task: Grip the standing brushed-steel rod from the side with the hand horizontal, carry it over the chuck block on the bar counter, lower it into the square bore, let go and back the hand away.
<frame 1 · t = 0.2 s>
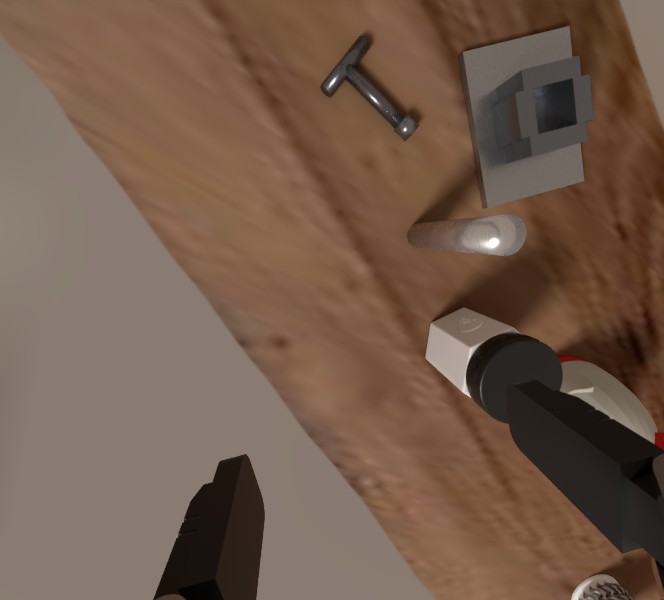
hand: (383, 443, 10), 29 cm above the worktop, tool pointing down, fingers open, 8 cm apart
steel rod: (419, 235, 39), on the worktop
jar: (456, 341, 42), on the worktop
decorative candle: (593, 594, 53), on the worktop
kitchen timer: (555, 404, 46), on the worktop
chuck key: (372, 99, 35), on the worktop
chuck block: (520, 123, 38), on the worktop
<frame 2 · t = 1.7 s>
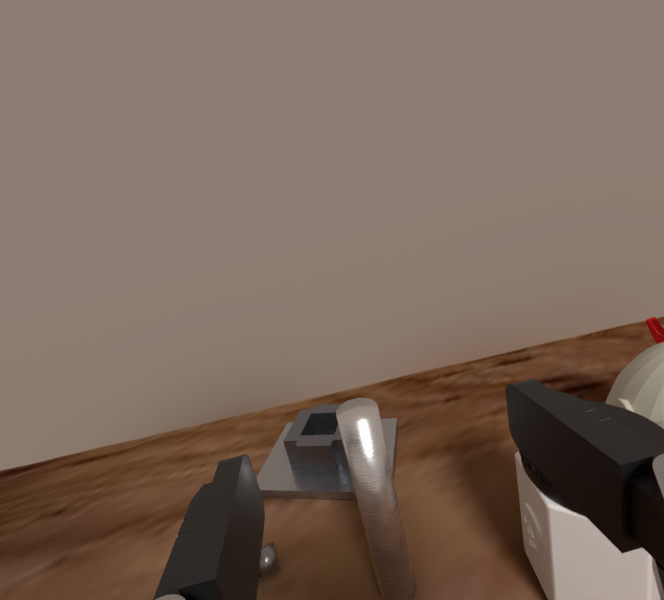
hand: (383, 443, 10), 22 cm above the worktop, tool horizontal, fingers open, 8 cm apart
steel rod: (397, 588, 26), on the worktop
jar: (596, 580, 24), on the worktop
chuck key: (218, 596, 28), on the worktop
chuck block: (330, 457, 42), on the worktop
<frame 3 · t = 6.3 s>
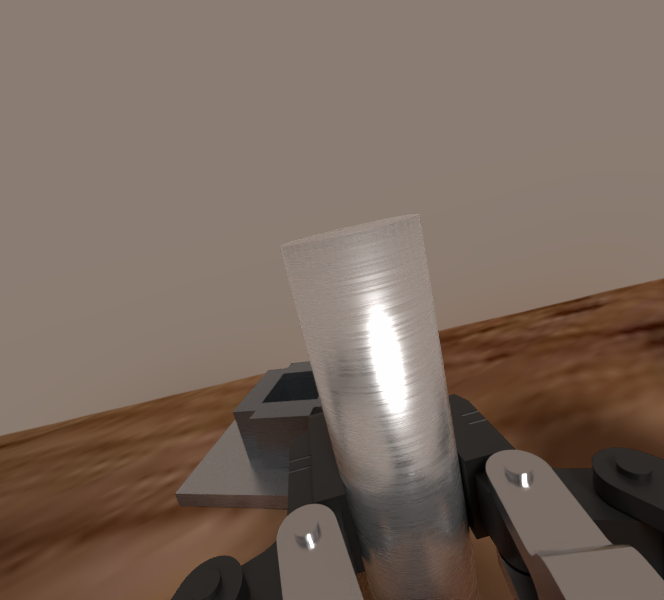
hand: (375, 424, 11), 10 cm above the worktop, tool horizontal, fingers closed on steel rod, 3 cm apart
chuck block: (314, 441, 26), on the worktop
when the fingers open (12 cm above the worktop, at t = 11.0 s): steel rod drops 1 cm, resting on chuck block.
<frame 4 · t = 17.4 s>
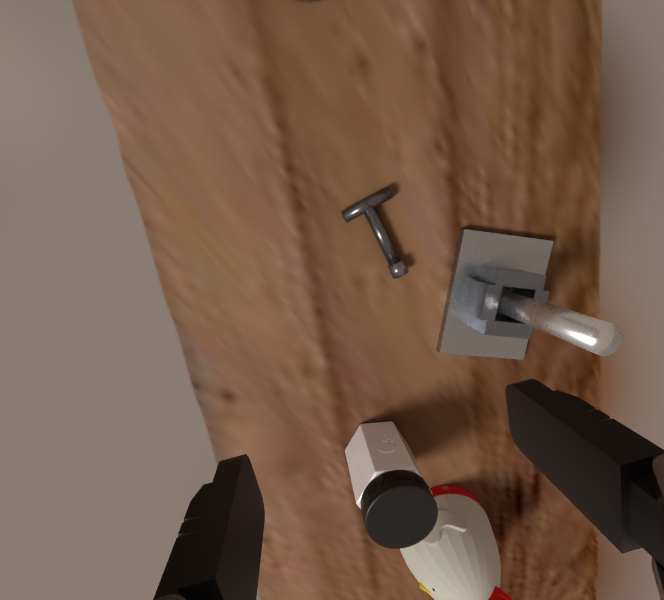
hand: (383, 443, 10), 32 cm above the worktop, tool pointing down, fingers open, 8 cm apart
steel rod: (494, 298, 43), point 1 cm above the worktop, touching chuck block
jar: (375, 445, 48), on the worktop
kitchen timer: (438, 522, 52), on the worktop
chuck key: (380, 235, 41), on the worktop
chuck block: (491, 296, 44), on the worktop
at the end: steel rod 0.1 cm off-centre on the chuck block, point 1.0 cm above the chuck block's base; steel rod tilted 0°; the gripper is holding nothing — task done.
